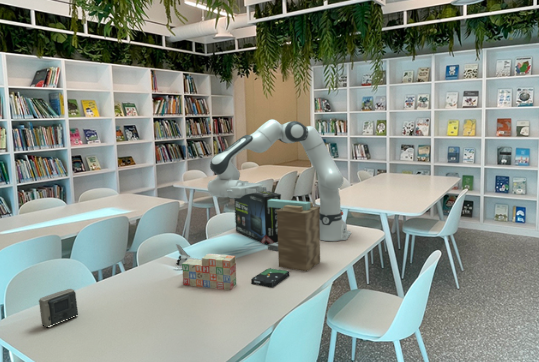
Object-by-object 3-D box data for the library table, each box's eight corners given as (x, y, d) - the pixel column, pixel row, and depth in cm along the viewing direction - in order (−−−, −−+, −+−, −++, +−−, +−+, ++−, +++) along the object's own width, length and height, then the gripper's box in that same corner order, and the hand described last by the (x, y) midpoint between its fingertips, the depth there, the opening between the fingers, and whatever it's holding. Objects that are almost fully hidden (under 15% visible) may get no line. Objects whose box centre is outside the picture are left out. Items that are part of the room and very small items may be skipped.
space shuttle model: (214, 276, 188) (213, 254, 187) (167, 270, 198) (165, 249, 197) (231, 265, 202) (230, 244, 201) (186, 259, 212) (185, 240, 211)
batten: (272, 205, 204) (272, 198, 204) (310, 208, 194) (310, 202, 193) (267, 206, 201) (267, 200, 200) (306, 210, 190) (306, 203, 190)
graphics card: (267, 244, 221) (294, 233, 241) (267, 251, 222) (295, 239, 241) (283, 247, 215) (310, 235, 235) (283, 254, 216) (310, 241, 235)
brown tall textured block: (293, 257, 208) (291, 200, 204) (321, 262, 201) (320, 202, 197) (277, 266, 196) (276, 206, 192) (306, 272, 188) (305, 208, 184)
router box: (234, 231, 259) (232, 187, 255) (250, 228, 265) (249, 185, 261) (266, 245, 229) (264, 195, 225) (283, 242, 235) (282, 193, 231)
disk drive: (273, 289, 172) (290, 276, 185) (272, 282, 172) (289, 270, 184) (250, 285, 177) (268, 273, 190) (250, 278, 177) (268, 267, 190)
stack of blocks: (182, 285, 178) (181, 256, 176) (190, 279, 184) (188, 251, 182) (230, 290, 171) (229, 260, 170) (237, 284, 177) (235, 255, 176)
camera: (72, 313, 155) (70, 286, 153) (80, 317, 151) (78, 290, 150) (39, 325, 146) (36, 297, 145) (47, 330, 142) (43, 301, 141)
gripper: (224, 184, 202) (249, 185, 196) (247, 181, 220) (271, 181, 213) (224, 197, 203) (249, 199, 196) (247, 193, 221) (271, 194, 214)
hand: (261, 190), depth 205 cm, fingers open, 8 cm apart
